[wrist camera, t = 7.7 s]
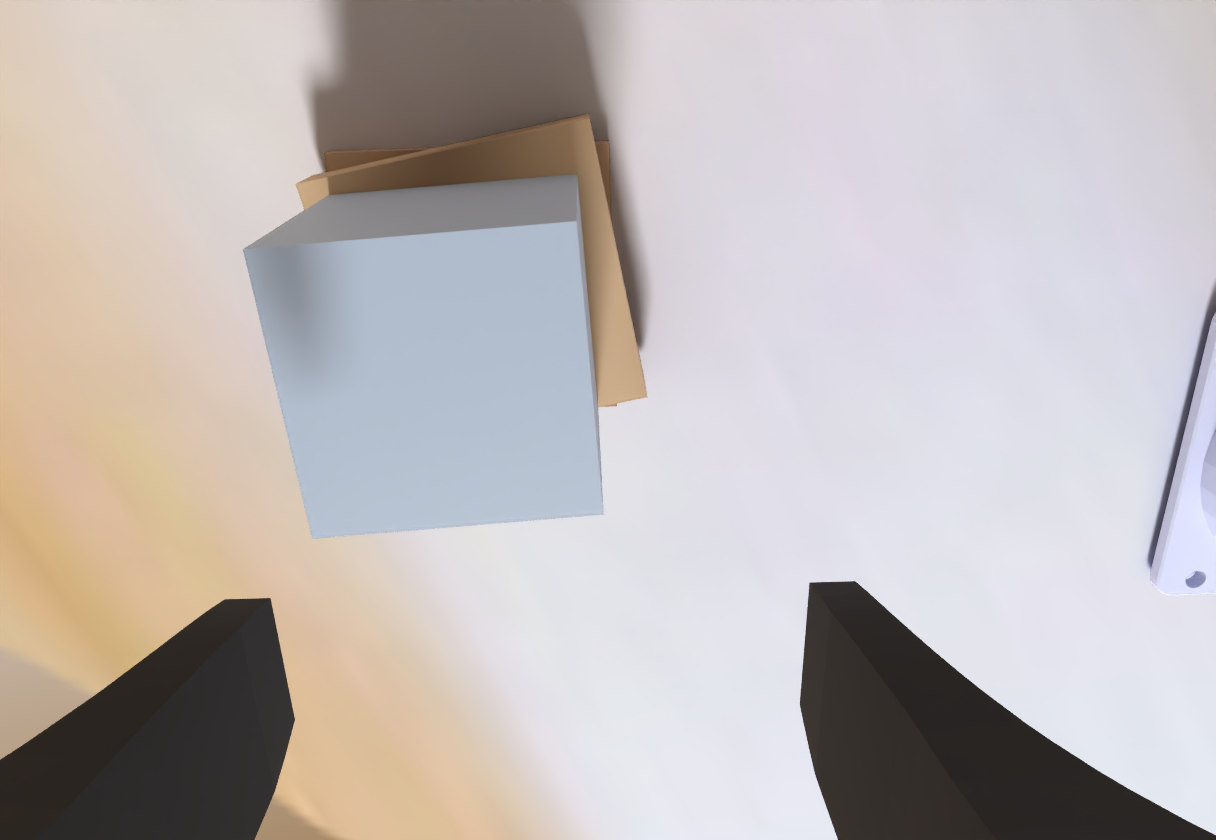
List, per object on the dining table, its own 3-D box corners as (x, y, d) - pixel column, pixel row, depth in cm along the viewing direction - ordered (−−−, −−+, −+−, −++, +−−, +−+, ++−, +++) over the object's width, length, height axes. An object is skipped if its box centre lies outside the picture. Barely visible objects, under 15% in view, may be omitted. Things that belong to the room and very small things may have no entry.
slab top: (588, 113, 19) (588, 118, 18) (643, 377, 21) (647, 396, 20) (313, 175, 19) (295, 184, 18) (397, 427, 22) (385, 450, 20)
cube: (577, 173, 18) (576, 220, 13) (597, 404, 20) (603, 514, 15) (328, 194, 18) (243, 249, 13) (373, 423, 20) (312, 538, 15)
